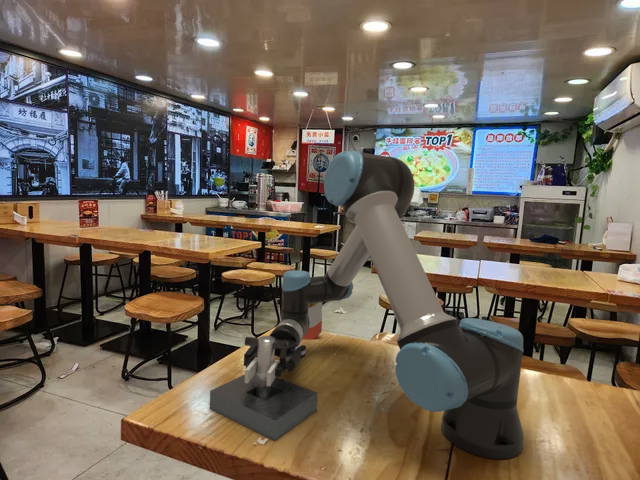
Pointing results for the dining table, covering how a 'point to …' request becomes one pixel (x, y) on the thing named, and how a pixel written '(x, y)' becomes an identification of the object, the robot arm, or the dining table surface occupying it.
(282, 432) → the block
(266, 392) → the chuck key
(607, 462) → the dining table surface
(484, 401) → the robot arm
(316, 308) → the french fries container
